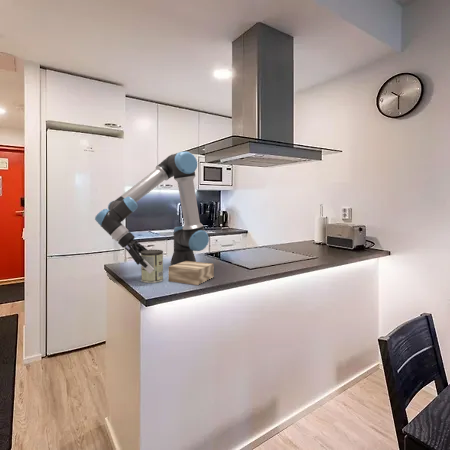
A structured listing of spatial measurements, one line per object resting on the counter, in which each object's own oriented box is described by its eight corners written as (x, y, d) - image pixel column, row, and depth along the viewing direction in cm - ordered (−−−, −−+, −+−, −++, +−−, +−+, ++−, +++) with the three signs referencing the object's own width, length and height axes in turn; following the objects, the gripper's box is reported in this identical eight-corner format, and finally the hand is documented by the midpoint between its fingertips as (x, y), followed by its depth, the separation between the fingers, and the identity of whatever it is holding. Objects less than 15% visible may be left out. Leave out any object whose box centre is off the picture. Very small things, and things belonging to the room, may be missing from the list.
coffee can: (143, 277, 152) (143, 249, 151) (164, 277, 152) (164, 249, 151) (138, 283, 142) (138, 252, 141) (161, 283, 142) (161, 253, 141)
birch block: (186, 274, 160) (186, 260, 160) (213, 277, 154) (213, 263, 153) (168, 281, 146) (168, 266, 145) (198, 285, 139) (198, 270, 139)
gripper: (125, 239, 158) (155, 268, 159) (108, 246, 133) (143, 280, 134) (136, 228, 158) (165, 258, 159) (120, 234, 133) (155, 268, 134)
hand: (155, 268), depth 147 cm, fingers open, 13 cm apart
